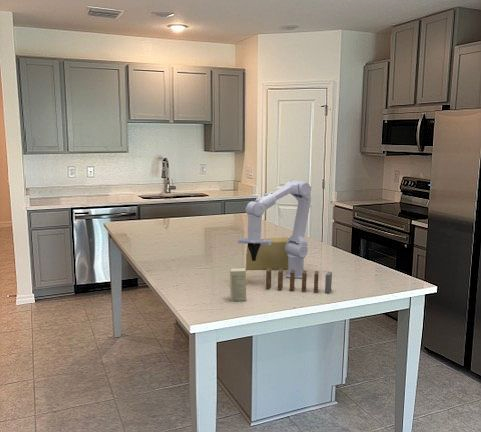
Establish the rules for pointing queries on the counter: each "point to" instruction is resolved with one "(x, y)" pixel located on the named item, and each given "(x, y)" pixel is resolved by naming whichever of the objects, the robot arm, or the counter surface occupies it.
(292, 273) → the walnut domino
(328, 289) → the grey domino
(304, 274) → the walnut domino
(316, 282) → the walnut domino
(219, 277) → the counter surface
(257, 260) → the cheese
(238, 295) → the skincare box
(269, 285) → the walnut domino
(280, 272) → the walnut domino
